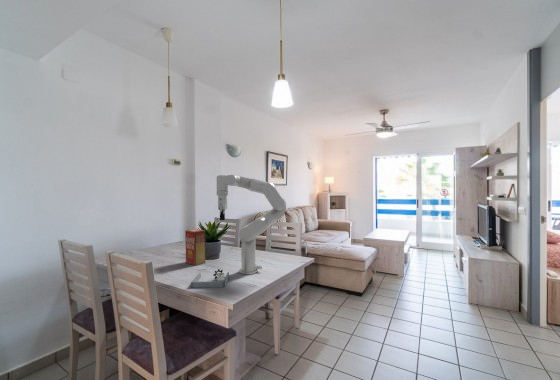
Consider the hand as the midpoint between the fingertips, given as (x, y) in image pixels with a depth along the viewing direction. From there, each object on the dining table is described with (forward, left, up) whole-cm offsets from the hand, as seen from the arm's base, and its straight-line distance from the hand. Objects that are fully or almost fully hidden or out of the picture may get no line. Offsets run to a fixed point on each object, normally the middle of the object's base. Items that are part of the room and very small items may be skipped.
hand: (222, 219), depth 177 cm
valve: (-2, +22, -35) cm, 42 cm away
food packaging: (+24, -20, -35) cm, 47 cm away
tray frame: (+3, +20, -35) cm, 41 cm away
